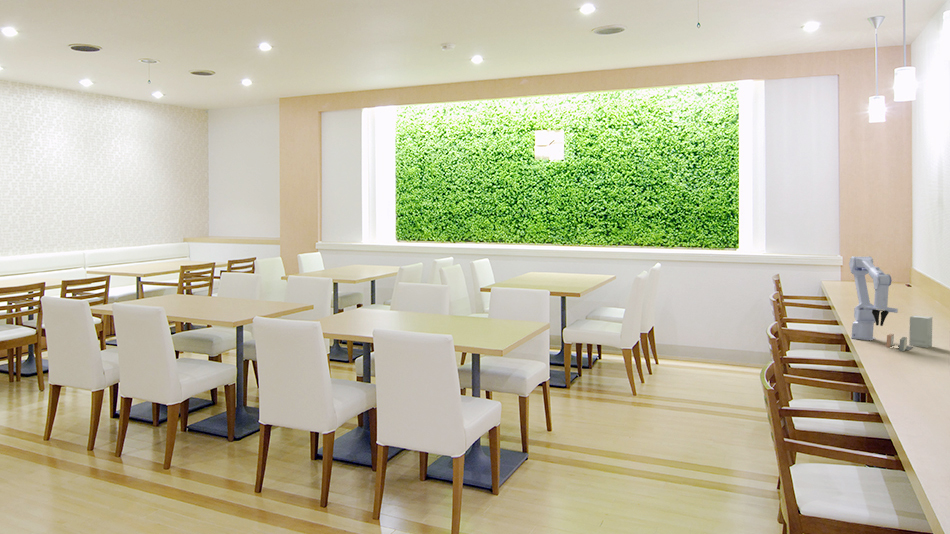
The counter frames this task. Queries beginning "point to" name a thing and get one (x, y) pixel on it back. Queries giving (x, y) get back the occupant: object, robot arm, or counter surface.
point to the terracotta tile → (890, 340)
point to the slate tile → (903, 344)
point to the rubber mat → (906, 347)
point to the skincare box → (920, 331)
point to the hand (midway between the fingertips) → (879, 325)
